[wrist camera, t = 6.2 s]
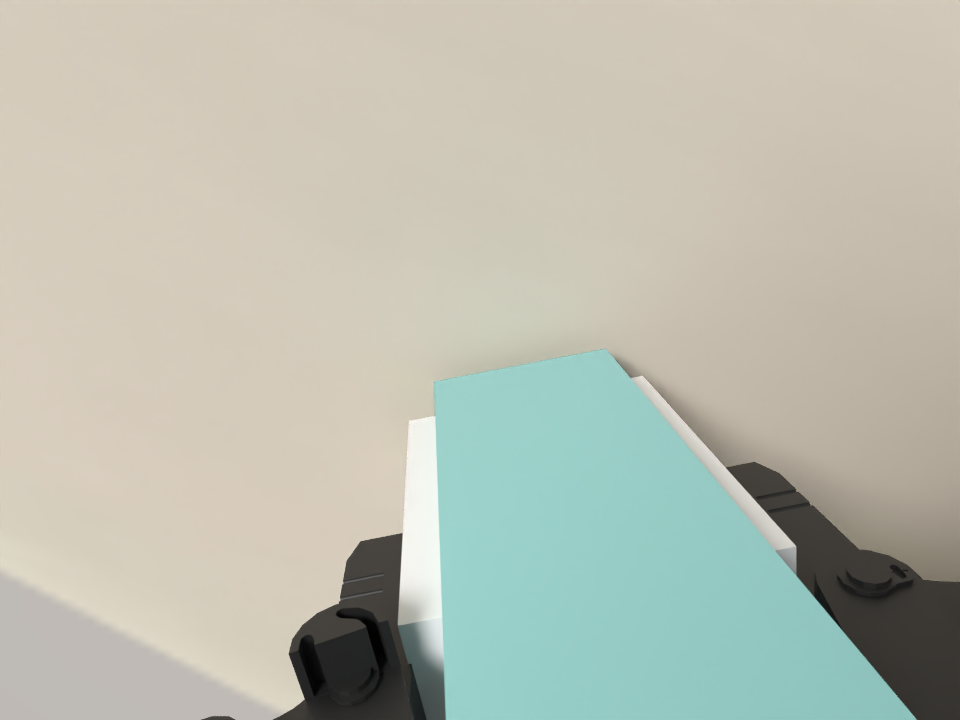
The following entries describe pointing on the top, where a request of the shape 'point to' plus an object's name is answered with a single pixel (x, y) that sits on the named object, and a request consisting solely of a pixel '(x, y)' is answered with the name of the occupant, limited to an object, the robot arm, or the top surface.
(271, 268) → the top surface
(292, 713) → the robot arm
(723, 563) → the teal cube-topped l-bracket
